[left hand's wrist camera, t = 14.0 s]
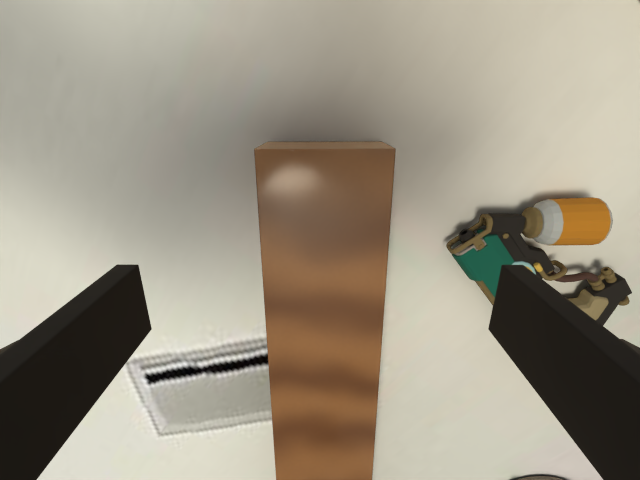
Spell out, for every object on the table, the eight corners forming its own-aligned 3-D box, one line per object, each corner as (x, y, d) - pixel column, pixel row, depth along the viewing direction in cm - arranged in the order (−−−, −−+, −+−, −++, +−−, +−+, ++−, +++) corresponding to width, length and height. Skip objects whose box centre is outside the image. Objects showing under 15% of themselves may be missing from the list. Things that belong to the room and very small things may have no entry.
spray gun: (613, 305, 37) (474, 346, 40) (599, 162, 31) (435, 222, 34) (647, 331, 33) (490, 374, 36) (638, 173, 27) (449, 240, 30)
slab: (267, 141, 31) (254, 148, 25) (382, 141, 31) (395, 148, 25) (292, 603, 57) (288, 661, 51) (355, 604, 56) (358, 663, 51)
